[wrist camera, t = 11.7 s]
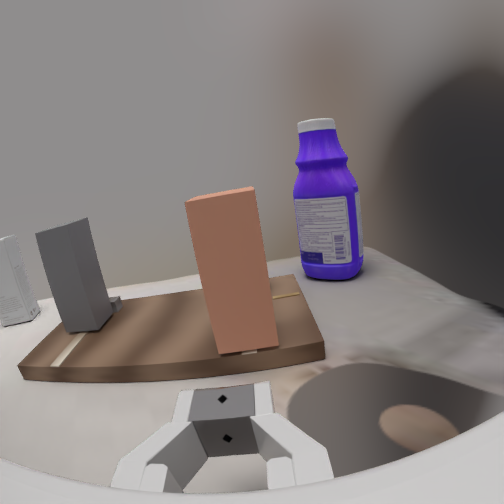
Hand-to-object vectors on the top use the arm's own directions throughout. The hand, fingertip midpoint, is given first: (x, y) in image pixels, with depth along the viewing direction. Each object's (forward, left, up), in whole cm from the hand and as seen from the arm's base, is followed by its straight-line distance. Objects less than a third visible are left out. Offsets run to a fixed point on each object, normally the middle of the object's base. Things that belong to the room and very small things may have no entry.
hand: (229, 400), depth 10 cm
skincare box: (-34, +25, -6) cm, 42 cm away
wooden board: (-8, +17, -6) cm, 19 cm away
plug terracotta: (0, +12, -4) cm, 12 cm away
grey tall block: (-16, +17, -4) cm, 24 cm away
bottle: (+10, +26, -6) cm, 28 cm away
